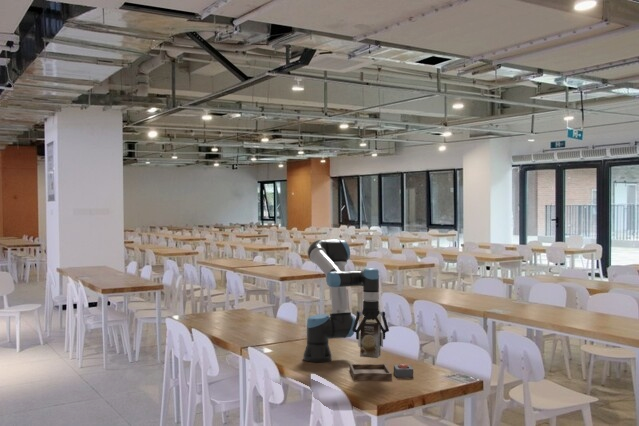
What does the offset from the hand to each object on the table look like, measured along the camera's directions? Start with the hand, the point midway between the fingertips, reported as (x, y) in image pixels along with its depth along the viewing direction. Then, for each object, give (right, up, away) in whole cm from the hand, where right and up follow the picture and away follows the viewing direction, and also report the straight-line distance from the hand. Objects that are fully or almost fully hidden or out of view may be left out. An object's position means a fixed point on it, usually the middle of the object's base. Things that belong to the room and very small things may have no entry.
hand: (370, 346), depth 286 cm
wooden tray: (0, -14, 0) cm, 14 cm away
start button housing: (+16, -14, 0) cm, 21 cm away
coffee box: (0, -5, 0) cm, 5 cm away
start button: (+16, -12, 0) cm, 20 cm away
